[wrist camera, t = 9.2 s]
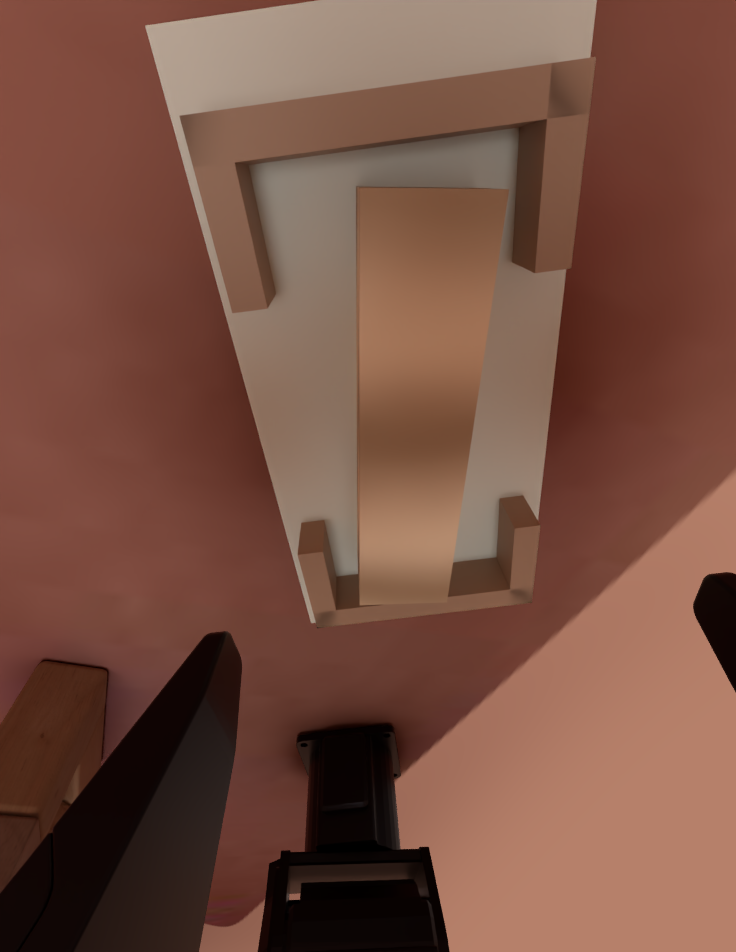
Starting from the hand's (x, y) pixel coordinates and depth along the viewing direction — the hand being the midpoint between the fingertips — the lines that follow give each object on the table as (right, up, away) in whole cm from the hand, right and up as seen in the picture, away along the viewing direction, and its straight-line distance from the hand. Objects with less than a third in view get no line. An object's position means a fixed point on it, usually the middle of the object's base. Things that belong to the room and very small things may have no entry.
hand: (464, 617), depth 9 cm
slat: (0, +5, +8) cm, 10 cm away
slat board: (-1, +6, +9) cm, 11 cm away
